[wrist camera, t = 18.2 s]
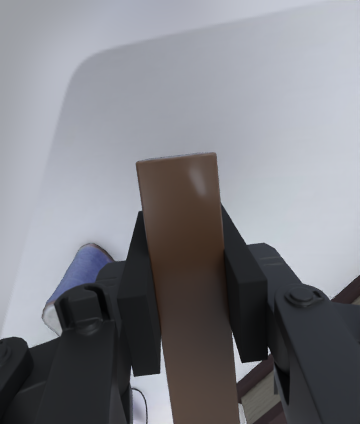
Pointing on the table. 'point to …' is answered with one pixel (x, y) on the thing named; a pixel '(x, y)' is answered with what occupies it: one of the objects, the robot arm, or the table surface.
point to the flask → (76, 279)
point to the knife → (190, 285)
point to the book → (264, 378)
